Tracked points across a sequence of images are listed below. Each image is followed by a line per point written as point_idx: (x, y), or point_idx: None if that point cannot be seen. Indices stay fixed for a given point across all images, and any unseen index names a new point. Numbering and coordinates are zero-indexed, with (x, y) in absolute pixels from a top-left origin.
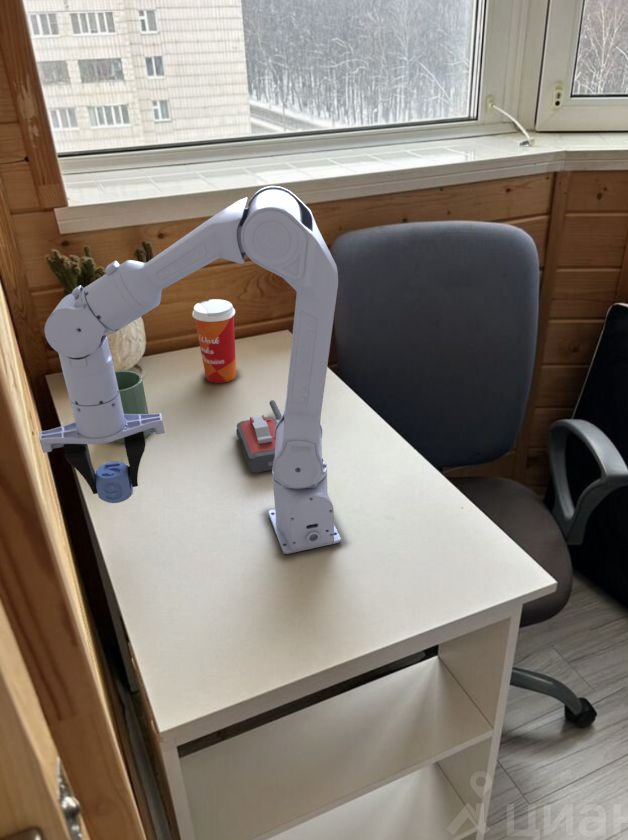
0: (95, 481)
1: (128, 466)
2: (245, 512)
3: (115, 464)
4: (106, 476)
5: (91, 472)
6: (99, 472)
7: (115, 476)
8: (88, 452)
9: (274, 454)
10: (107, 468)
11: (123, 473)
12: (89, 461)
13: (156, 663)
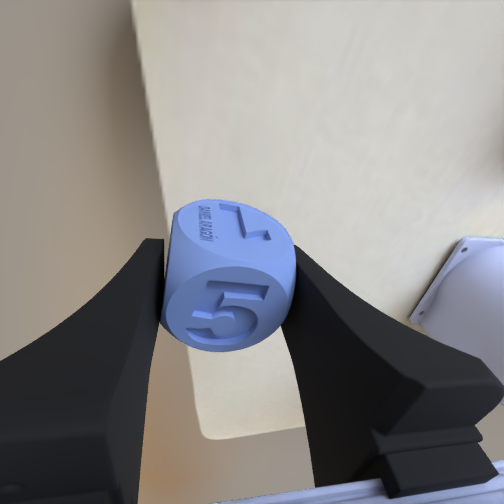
0: (158, 311)
1: (293, 290)
2: (436, 217)
3: (251, 280)
4: (203, 328)
5: (148, 373)
6: (179, 317)
7: (234, 350)
8: (136, 373)
9: None
10: (214, 290)
11: (264, 338)
12: (142, 391)
13: (208, 404)
